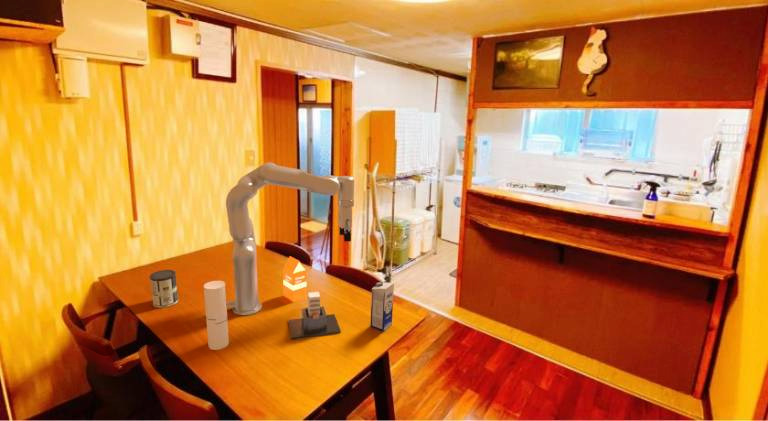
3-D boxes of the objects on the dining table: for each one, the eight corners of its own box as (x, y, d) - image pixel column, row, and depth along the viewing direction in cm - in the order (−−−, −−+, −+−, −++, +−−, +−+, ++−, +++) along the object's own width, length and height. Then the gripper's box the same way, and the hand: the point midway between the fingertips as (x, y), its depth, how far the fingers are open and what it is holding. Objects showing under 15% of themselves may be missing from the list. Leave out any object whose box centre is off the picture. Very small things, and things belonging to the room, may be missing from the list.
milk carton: (383, 332, 159) (385, 288, 154) (370, 327, 162) (371, 284, 157) (392, 324, 165) (394, 282, 160) (379, 320, 168) (380, 278, 163)
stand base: (291, 339, 150) (290, 320, 148) (288, 321, 163) (288, 303, 161) (340, 333, 157) (341, 314, 155) (334, 316, 170) (334, 298, 167)
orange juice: (297, 291, 192) (296, 254, 187) (306, 297, 186) (306, 259, 181) (283, 295, 186) (282, 257, 181) (292, 302, 180) (292, 263, 175)
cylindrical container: (212, 339, 149) (207, 280, 143) (231, 338, 149) (227, 280, 143) (205, 350, 142) (200, 289, 136) (225, 349, 143) (221, 289, 136)
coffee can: (168, 295, 182) (165, 268, 178) (183, 300, 178) (180, 272, 174) (147, 304, 173) (144, 275, 169) (162, 309, 168) (159, 280, 165)
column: (309, 328, 157) (309, 298, 153) (308, 322, 161) (307, 292, 158) (320, 327, 158) (320, 296, 155) (318, 321, 162) (318, 291, 159)
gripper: (334, 199, 182) (333, 232, 186) (341, 207, 166) (341, 244, 170) (349, 198, 184) (348, 232, 188) (358, 207, 168) (357, 243, 172)
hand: (345, 237), depth 179 cm, fingers open, 9 cm apart
